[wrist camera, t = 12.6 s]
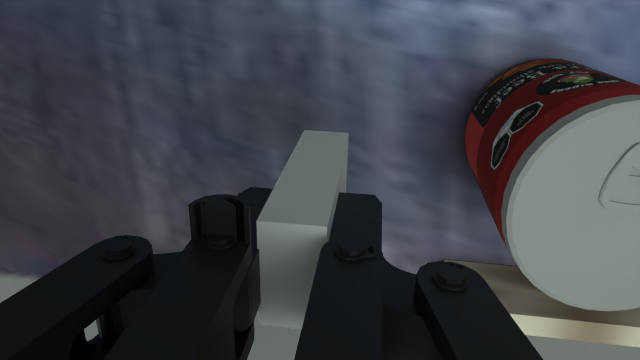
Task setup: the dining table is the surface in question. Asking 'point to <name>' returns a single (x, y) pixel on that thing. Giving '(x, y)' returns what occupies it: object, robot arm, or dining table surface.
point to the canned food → (563, 178)
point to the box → (556, 310)
